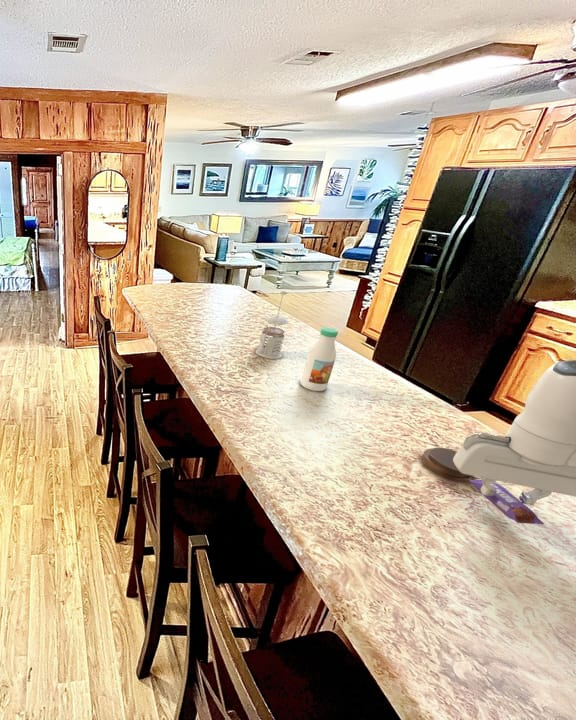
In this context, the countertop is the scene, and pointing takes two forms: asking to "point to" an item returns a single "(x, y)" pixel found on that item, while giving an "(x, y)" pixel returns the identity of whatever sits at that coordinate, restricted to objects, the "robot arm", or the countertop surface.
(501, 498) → the snack package
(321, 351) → the milk bottle
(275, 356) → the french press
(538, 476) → the robot arm
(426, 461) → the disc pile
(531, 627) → the countertop surface
